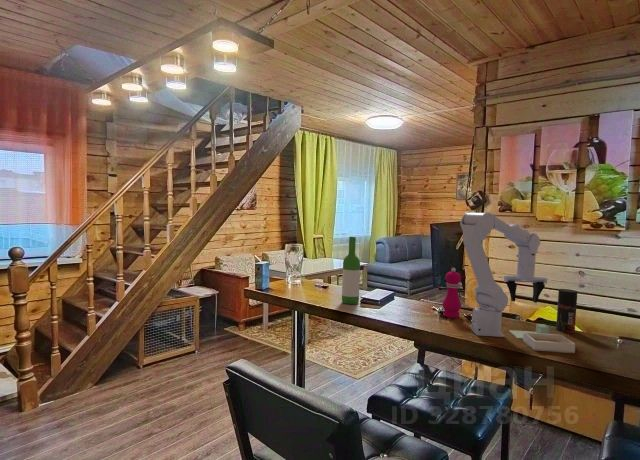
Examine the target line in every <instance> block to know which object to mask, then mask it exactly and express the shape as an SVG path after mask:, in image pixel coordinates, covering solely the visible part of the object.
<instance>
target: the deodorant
mask: <svg viewBox="0 0 640 460" xmlns="http://www.w3.org/2000/svg"><path fill="white" fill-rule="evenodd" d="M557 293H558V295H557V310H556V311H557V312H556V325H555V326H556V327H555V330H556V331H559V332H561V333H567V334H574V333H575V332H576V321H577V320H576V317H577V304H578V303H577V302H578V291H577V290H574V289H567V288H559V289H558V292H557Z"/></svg>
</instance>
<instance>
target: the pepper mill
mask: <svg viewBox="0 0 640 460" xmlns="http://www.w3.org/2000/svg"><path fill="white" fill-rule="evenodd" d="M456 269H457V268H455V267H451V270H450V271H448V272H447V273H446V274H445V281H446V287H447V291H446V295H445V297H444V299H443V301H442V308H443V309H444V310H443V312H442V313H443V314H444V315H443V314H442V315H443V316H444V317H445V316H446V317H445V318H449V319H458V318H460V313H461V312H459V311H460V310H461V308H462V303H461V302H462V301H461V300H460V297H459V293H458V290H459V288H460V282H461V280H462V276H461V274H460V273H459V272H457V271H456Z"/></svg>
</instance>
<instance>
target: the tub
mask: <svg viewBox="0 0 640 460" xmlns="http://www.w3.org/2000/svg"><path fill="white" fill-rule="evenodd" d="M522 341H523V342H524V343H525V344H526V345H527V347H529V348H530V347H531V348H530V349H531V350H533V351H537V352H550V353H551V352H552V353H563V354H565V353H566V354H575V352H576V342H573V341H572V340H570V339H569V338H567V337H565V336H564V335H563V334H558V333H557V334H556V333H549V334H541V333H525V332H524V334H523V339H522Z"/></svg>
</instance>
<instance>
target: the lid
mask: <svg viewBox="0 0 640 460" xmlns="http://www.w3.org/2000/svg"><path fill="white" fill-rule="evenodd" d="M535 325H536V326H535V331H530V330H529V331H527V330H512V329H509V330H508V332H510V334H512V335H513V336H514V337H515V338H516V339H521V340H523V334H524V332H525V333H541V334H550V327H549V326H548V325H547V324H546V323H543V324H542V323H536V324H535Z"/></svg>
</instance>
